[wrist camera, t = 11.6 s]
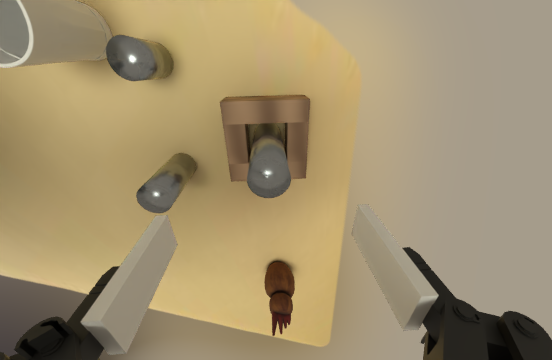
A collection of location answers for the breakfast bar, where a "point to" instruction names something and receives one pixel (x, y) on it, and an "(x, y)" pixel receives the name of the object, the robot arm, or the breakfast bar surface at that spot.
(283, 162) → the long pin
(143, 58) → the short pin
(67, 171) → the breakfast bar surface
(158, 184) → the medium pin
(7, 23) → the cup
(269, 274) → the wooden figurine
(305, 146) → the hole block
